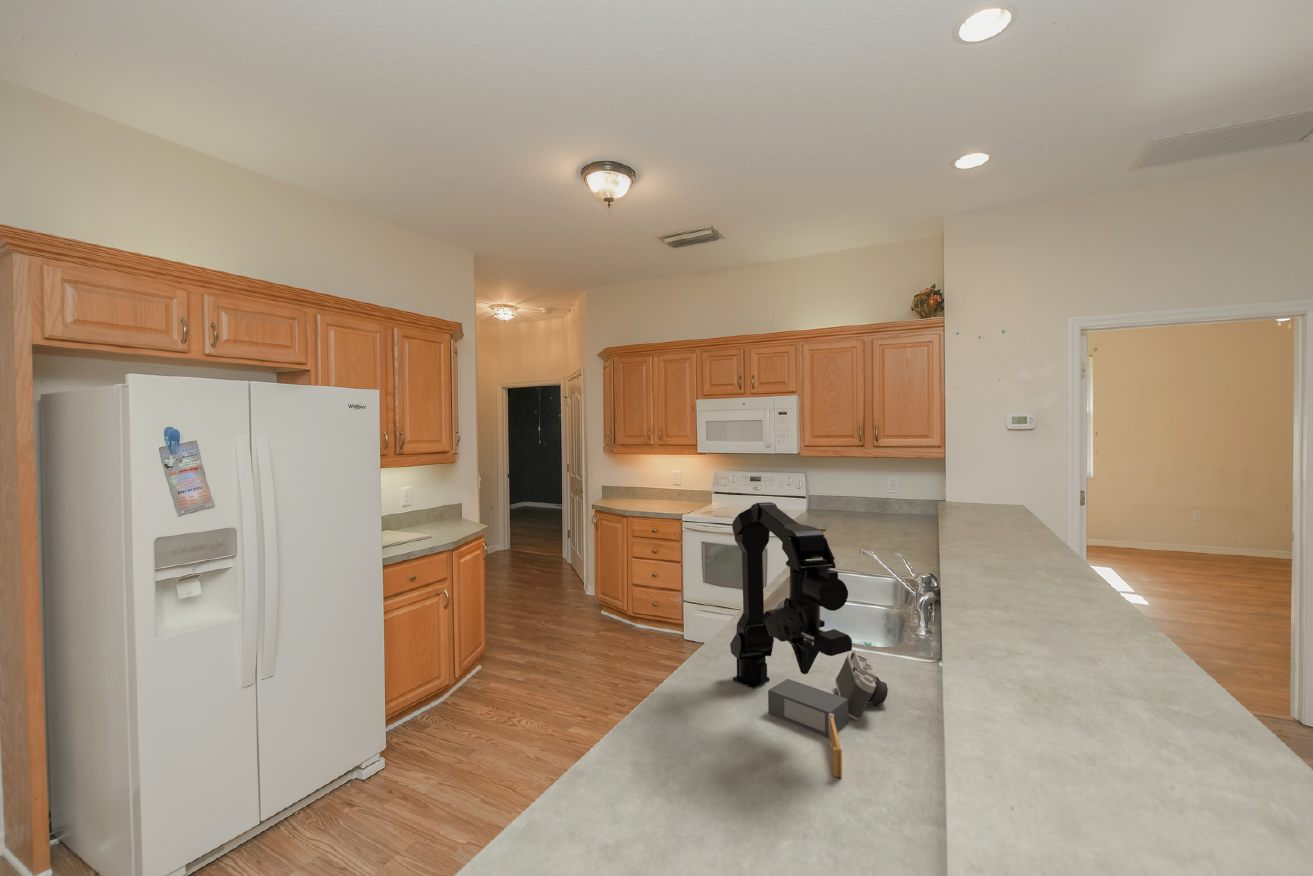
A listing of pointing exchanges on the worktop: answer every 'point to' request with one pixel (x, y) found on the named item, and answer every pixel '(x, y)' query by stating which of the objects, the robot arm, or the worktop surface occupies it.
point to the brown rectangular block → (835, 750)
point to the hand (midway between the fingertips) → (804, 673)
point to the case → (807, 707)
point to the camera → (859, 684)
